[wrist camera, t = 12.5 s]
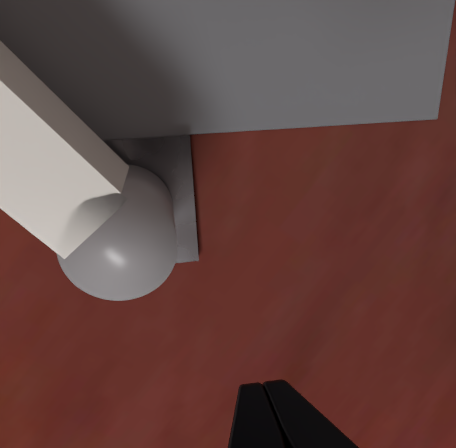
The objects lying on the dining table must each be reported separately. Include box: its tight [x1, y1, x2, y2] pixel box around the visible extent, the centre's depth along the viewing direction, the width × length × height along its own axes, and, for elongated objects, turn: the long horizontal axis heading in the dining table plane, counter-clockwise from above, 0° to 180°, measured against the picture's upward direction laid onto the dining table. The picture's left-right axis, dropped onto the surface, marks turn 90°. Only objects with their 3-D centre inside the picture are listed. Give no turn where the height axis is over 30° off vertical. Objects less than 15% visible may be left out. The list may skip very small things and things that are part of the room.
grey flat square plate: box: [102, 135, 199, 263], centre depth 18 cm, size 6×6×1 cm
